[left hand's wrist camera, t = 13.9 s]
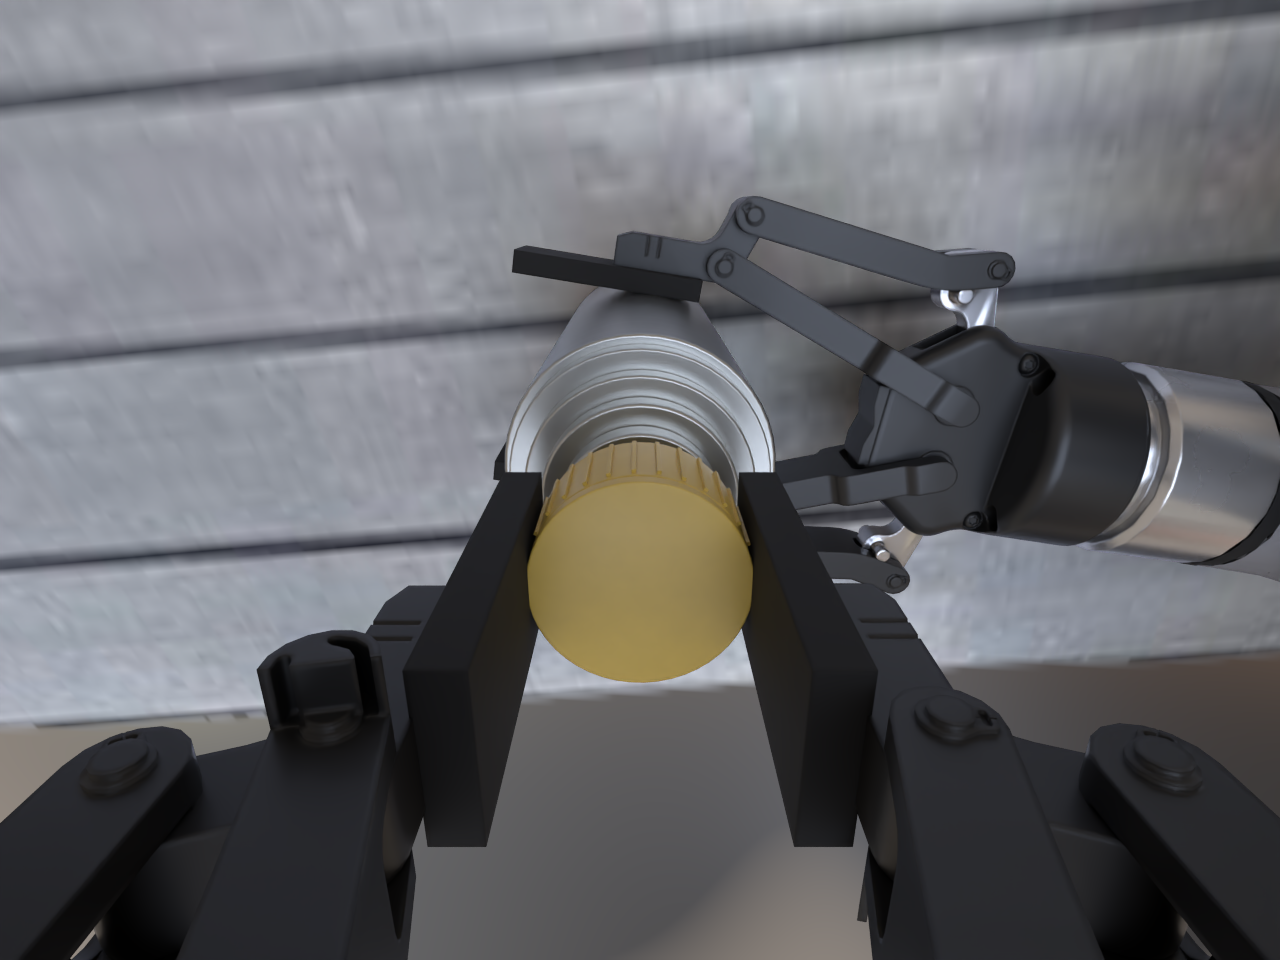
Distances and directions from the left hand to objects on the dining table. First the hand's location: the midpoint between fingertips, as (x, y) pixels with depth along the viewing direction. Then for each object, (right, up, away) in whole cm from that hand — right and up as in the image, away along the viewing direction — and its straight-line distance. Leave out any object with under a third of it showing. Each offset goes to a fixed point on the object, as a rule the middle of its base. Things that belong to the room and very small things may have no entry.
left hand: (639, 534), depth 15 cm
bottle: (0, +7, +18) cm, 20 cm away
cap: (0, -1, -2) cm, 2 cm away
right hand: (-5, +5, +12) cm, 14 cm away
